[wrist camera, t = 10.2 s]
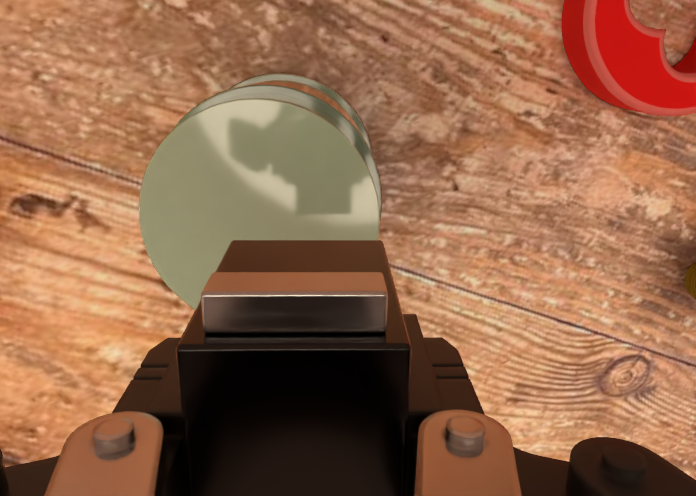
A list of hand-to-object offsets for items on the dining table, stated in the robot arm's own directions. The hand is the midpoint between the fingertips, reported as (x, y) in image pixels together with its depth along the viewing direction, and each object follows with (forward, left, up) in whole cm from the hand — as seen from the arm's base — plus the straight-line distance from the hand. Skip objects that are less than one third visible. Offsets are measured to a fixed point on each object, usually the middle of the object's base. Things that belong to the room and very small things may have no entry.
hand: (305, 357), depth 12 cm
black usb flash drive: (0, 0, 0) cm, 0 cm away
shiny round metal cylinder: (0, -2, -21) cm, 21 cm away
